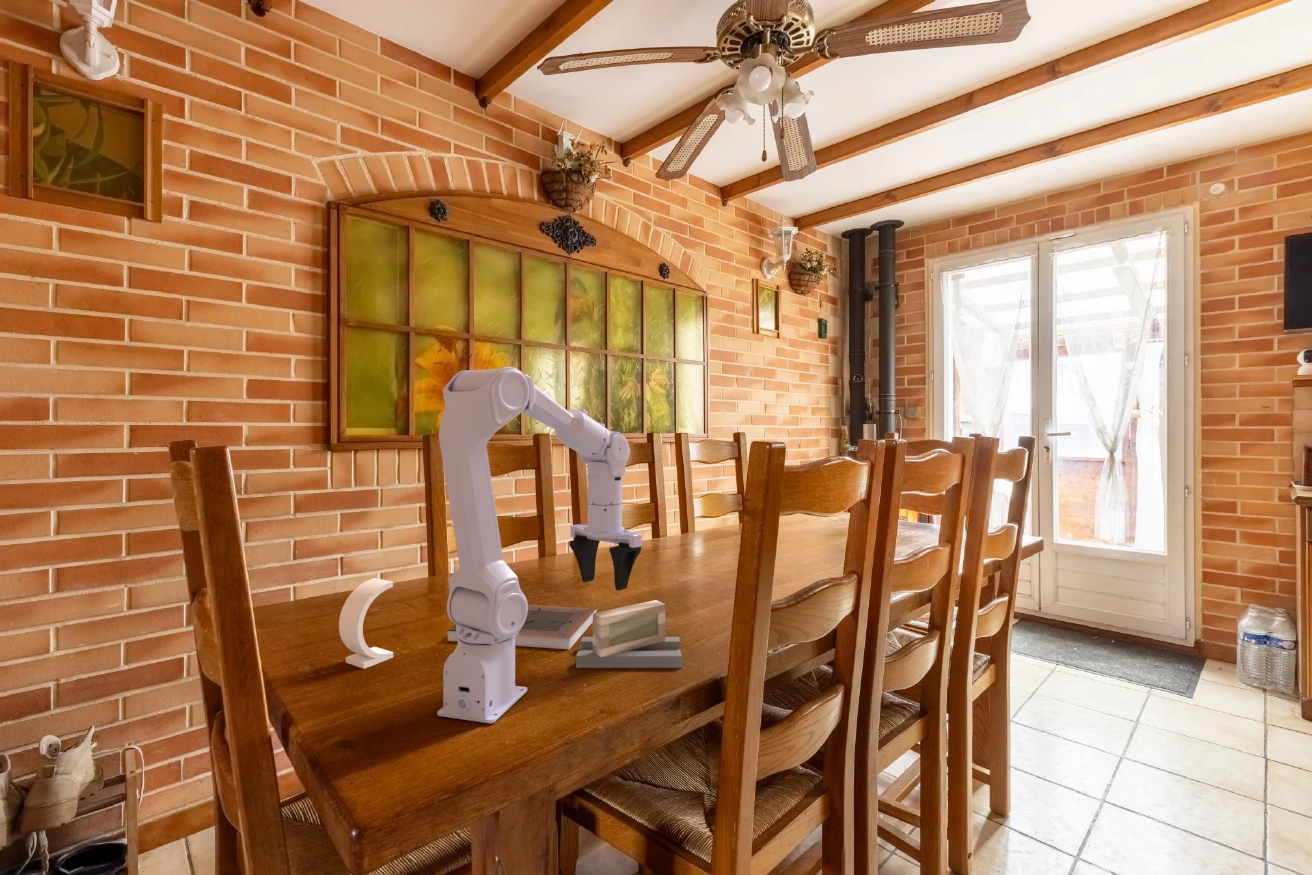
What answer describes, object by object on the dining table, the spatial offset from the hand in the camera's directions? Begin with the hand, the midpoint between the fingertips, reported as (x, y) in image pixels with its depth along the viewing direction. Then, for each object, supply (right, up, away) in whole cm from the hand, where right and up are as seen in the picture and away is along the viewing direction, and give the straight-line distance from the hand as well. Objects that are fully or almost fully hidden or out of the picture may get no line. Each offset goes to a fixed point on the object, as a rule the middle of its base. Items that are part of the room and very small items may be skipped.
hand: (604, 584), depth 97 cm
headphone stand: (-36, -10, -7) cm, 38 cm away
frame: (+4, -9, -5) cm, 11 cm away
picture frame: (-15, -11, +9) cm, 20 cm away
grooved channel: (+4, -10, -5) cm, 12 cm away
